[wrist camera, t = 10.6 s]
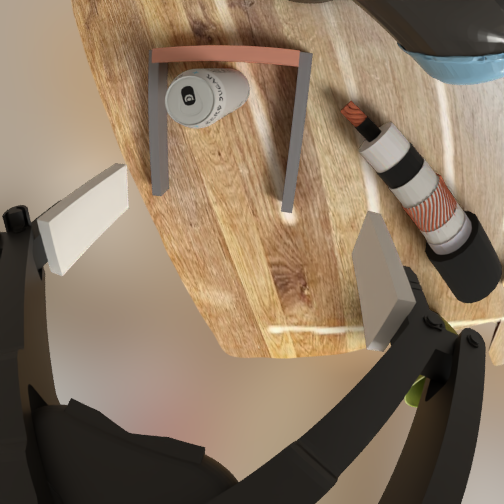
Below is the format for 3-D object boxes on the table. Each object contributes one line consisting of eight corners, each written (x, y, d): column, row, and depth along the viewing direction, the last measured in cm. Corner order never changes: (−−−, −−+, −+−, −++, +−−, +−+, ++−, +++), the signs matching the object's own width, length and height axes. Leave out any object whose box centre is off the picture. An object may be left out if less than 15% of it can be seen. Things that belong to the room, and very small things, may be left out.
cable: (353, 95, 37) (384, 71, 27) (472, 249, 43) (511, 260, 33) (310, 139, 38) (334, 121, 28) (442, 292, 44) (480, 311, 34)
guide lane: (158, 50, 34) (141, 49, 29) (312, 54, 32) (313, 52, 28) (160, 187, 46) (146, 200, 42) (292, 203, 44) (290, 219, 40)
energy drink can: (212, 113, 38) (167, 138, 26) (203, 73, 35) (152, 79, 23) (254, 105, 37) (228, 125, 25) (246, 64, 34) (213, 61, 22)
